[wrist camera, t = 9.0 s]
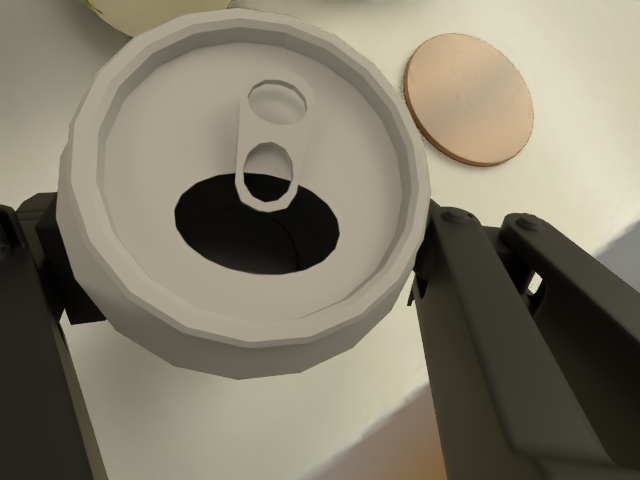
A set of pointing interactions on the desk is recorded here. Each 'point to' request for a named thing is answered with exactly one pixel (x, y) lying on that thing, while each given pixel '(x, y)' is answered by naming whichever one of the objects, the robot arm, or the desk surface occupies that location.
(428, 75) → the coaster
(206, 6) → the pitcher
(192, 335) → the can
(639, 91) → the desk surface
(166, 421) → the desk surface
